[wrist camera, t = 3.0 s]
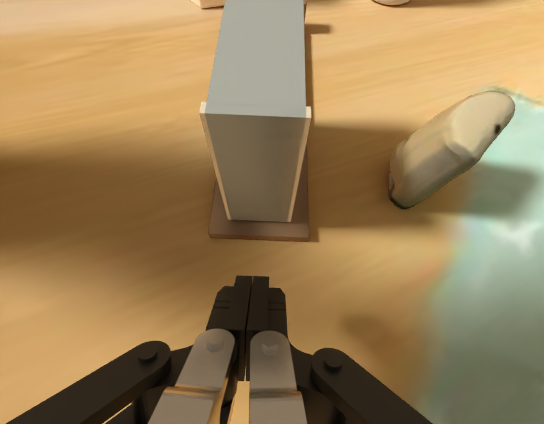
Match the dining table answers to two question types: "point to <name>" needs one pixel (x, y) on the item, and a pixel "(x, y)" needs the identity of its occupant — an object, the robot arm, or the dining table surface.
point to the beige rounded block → (447, 146)
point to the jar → (208, 3)
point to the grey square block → (258, 108)
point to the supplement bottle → (392, 2)
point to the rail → (264, 229)
